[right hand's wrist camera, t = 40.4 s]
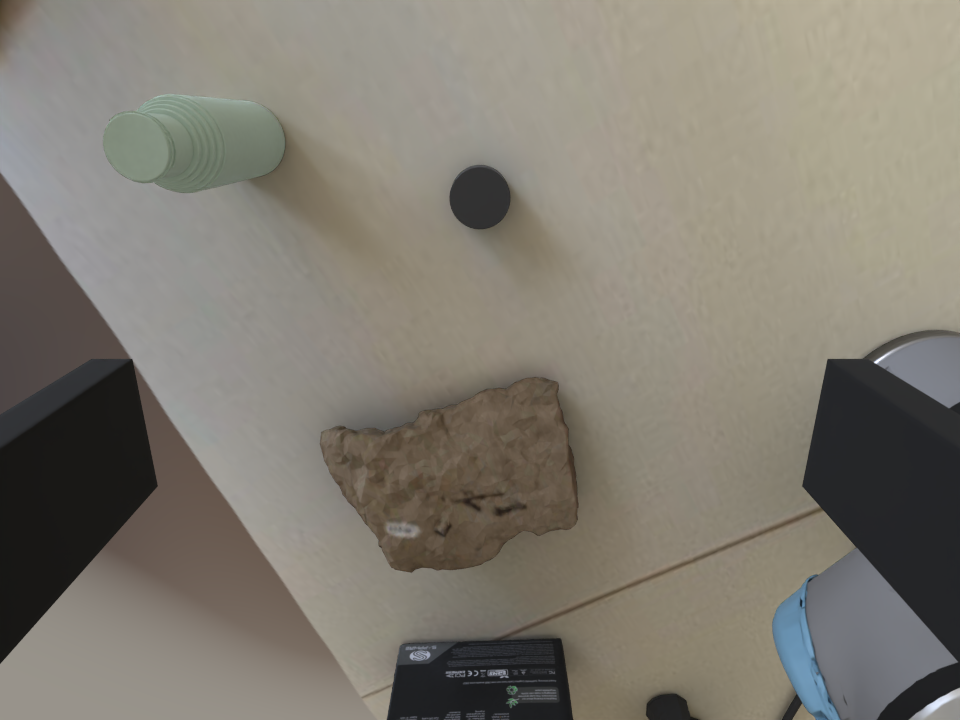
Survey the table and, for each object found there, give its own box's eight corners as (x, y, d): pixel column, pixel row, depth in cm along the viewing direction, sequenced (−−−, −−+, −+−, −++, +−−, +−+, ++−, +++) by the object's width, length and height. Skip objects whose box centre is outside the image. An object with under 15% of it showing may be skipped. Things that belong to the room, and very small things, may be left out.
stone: (366, 579, 59) (361, 610, 53) (319, 426, 57) (309, 441, 51) (583, 513, 61) (602, 536, 55) (544, 362, 59) (558, 369, 53)
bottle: (300, 150, 49) (212, 164, 33) (245, 190, 50) (134, 223, 34) (253, 85, 48) (137, 66, 32) (197, 128, 49) (58, 131, 33)
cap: (461, 156, 50) (460, 158, 47) (516, 176, 50) (518, 178, 48) (443, 213, 51) (441, 217, 49) (497, 231, 52) (498, 237, 49)
